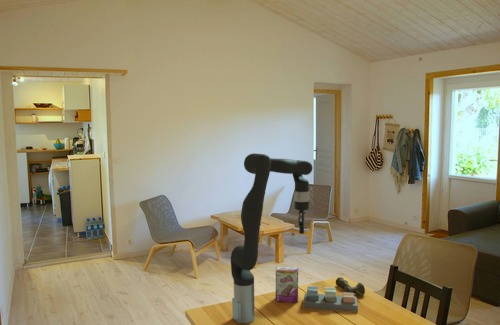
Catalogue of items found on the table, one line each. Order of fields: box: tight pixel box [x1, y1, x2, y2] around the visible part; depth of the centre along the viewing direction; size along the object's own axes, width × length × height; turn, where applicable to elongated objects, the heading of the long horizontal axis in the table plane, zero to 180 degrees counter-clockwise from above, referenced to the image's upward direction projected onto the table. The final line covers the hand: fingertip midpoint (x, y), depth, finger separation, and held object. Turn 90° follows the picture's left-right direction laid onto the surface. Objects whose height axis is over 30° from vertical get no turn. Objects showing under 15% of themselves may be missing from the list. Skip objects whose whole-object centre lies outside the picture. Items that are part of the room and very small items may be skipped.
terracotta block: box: [342, 291, 355, 304], centre depth 192 cm, size 5×5×5 cm
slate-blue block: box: [306, 285, 319, 301], centre depth 195 cm, size 5×5×5 cm
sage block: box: [324, 286, 337, 302], centre depth 193 cm, size 5×5×5 cm
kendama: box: [335, 276, 366, 296], centre depth 207 cm, size 6×10×20 cm
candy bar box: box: [275, 266, 299, 303], centre depth 199 cm, size 11×5×16 cm, turn 84°
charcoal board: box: [303, 292, 359, 313], centre depth 193 cm, size 10×25×3 cm, turn 79°
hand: (301, 233), depth 205 cm, fingers closed
